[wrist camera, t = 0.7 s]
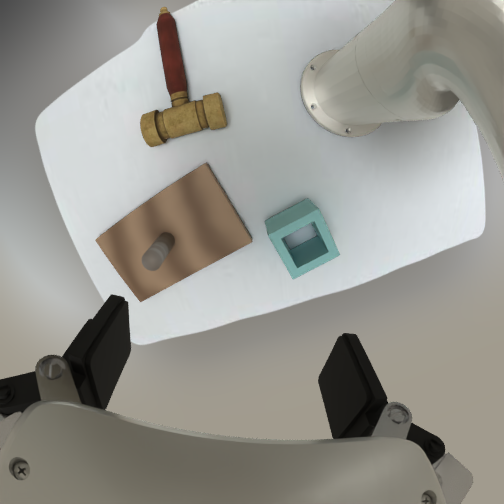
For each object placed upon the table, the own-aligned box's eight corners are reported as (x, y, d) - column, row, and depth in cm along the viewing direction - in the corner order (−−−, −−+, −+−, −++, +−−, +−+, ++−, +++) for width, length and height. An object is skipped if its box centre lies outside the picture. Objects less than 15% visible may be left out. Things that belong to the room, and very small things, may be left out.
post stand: (206, 162, 34) (194, 168, 26) (252, 238, 38) (253, 264, 31) (99, 236, 38) (71, 258, 30) (143, 297, 42) (125, 328, 34)
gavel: (124, 13, 23) (195, -11, 22) (136, 25, 27) (201, 5, 26) (143, 146, 29) (225, 123, 29) (156, 148, 34) (228, 128, 33)
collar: (307, 198, 36) (318, 208, 31) (327, 238, 39) (340, 255, 33) (264, 221, 37) (268, 235, 32) (286, 259, 40) (292, 279, 34)
